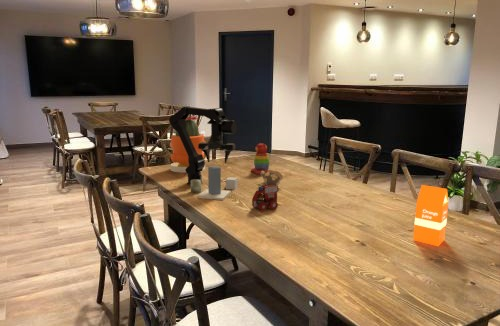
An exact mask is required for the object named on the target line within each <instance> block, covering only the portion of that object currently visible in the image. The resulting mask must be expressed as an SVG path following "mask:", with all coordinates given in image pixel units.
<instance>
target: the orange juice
mask: <svg viewBox="0 0 500 326" xmlns="http://www.w3.org/2000/svg"><path fill="white" fill-rule="evenodd" d="M448 210H449V196H448V189H447V188H445V187H443V188H442V187H437V186H431V185H425V184H421V187H420V190H419V192H418V196H417V200H416V209H415V215H414V227H413V239H412V241H414V242H415V241H416V242H420V243H423V244H428V245H431V246H435V247H440V245H441V244H443V242H444V241H445V239H446V226H447V221H448Z"/></svg>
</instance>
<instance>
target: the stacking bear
mask: <svg viewBox="0 0 500 326" xmlns="http://www.w3.org/2000/svg"><path fill="white" fill-rule="evenodd" d="M267 150H268V146H267V144H265V143H261V142H259V143H258V144H257V145H256V146H255V152H256V153H255V155H254V158H253V165H254V167H253V168H251V169H250V172H251V173H255V175H260V173H261V171H264V172H265V173H268V171H269V170H270V169H269V167H270V158H269V154H268V153H267ZM260 176H261V175H260Z"/></svg>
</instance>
